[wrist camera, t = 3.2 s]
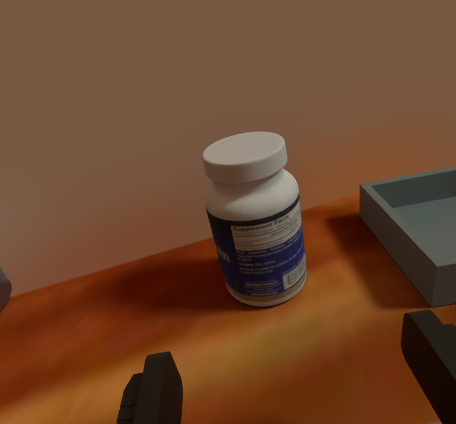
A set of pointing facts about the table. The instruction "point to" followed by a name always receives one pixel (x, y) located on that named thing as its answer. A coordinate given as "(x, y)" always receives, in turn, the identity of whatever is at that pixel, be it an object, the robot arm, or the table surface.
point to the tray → (417, 228)
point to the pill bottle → (255, 218)
